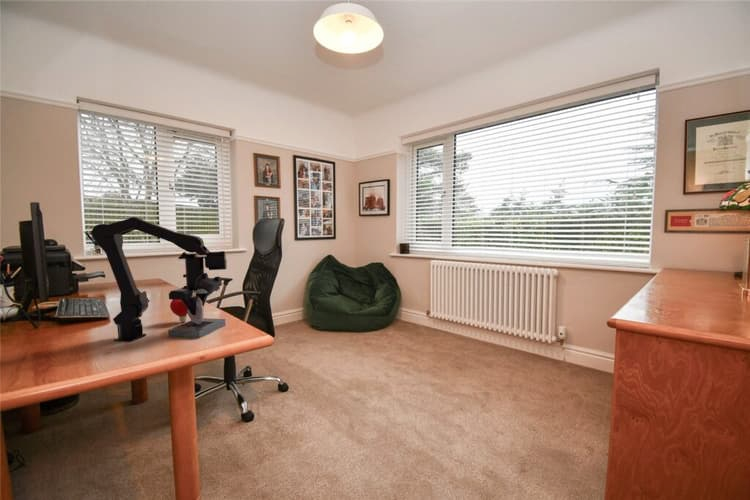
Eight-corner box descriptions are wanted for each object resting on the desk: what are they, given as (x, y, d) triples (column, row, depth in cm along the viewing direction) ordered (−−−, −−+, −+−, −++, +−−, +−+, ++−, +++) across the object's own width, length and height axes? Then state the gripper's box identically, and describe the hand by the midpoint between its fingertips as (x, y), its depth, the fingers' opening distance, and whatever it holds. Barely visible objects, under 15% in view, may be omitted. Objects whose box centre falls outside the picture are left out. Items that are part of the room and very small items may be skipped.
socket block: (168, 336, 108) (168, 329, 108) (197, 324, 122) (197, 318, 122) (199, 338, 106) (199, 331, 106) (225, 325, 120) (225, 319, 120)
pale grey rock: (186, 325, 112) (185, 297, 112) (193, 322, 115) (192, 295, 115) (200, 325, 111) (200, 297, 111) (207, 323, 114) (207, 296, 114)
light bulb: (166, 324, 122) (164, 299, 121) (180, 319, 129) (178, 295, 128) (187, 325, 120) (185, 299, 120) (200, 320, 127) (198, 295, 127)
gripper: (196, 275, 102) (198, 322, 103) (231, 267, 120) (233, 307, 121) (166, 274, 104) (168, 320, 105) (205, 267, 122) (207, 306, 123)
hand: (197, 313), depth 113 cm, fingers closed on pale grey rock, 3 cm apart
